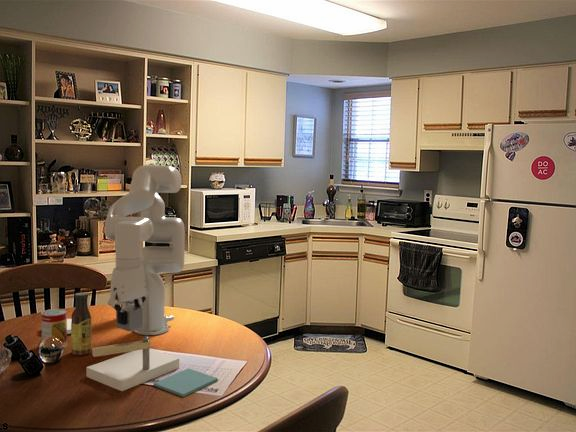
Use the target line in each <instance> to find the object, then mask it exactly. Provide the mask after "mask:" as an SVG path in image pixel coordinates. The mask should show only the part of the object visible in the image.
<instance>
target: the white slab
mask: <svg viewBox="0 0 576 432" xmlns="http://www.w3.org/2000/svg"><path fill="white" fill-rule="evenodd" d="M179 368H180V358H179V357H176V356H173V355H170V354H167V353H164V352H161V351H158V350H155V349H151V347H150V348H149V349H142V350H136V351H129V352H125V353H123V354H121V355H118V356H114V357H112V358H109V359H106V360H104V361H101V362H98V363H95V364H91V365H88V366H86V377H87V378H89V379H91V380H93V381H96V382H98V383H101V384H103V385H105V386H108V387H111V388H113V389H115V390H118V391H121V392H124V391H126V390H129V389H131V388H134V387H136V386H138V385H141V384H143V383H146V382H149V381H151V380H153V379H155V378H157V377H160V376H163V375H165V374H167V373H169V372H172V371H174V370H177V369H179Z"/></svg>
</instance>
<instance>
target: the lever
mask: <svg viewBox="0 0 576 432" xmlns="http://www.w3.org/2000/svg"><path fill="white" fill-rule="evenodd" d="M149 348H150V349H151V341H150V335H143V337H142V340H136V341H130V342H123V343H117V344H116V343H115V344H109V345H103V346H101V345H100V346H96V347H95V346H94V347H91V353H92V354H91V355H92V356H93V358H97V357H103V356H107V355H108V356H109V355H116V354H121V353H123V354H124V353H129V352H132V351H136V350H142V349H149Z"/></svg>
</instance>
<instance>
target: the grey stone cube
mask: <svg viewBox="0 0 576 432" xmlns="http://www.w3.org/2000/svg"><path fill="white" fill-rule="evenodd" d="M124 312H126V325H122V324H119V323H118V321H117V311H116V310H115V314H116V315H115V319H116V321H115V323H116V325H115V326H116V328H118V329H120V330H124V331H126V332H132V331H133V332H134V330H136V329H139V328H142V327H143V308H141V307H137V306H134V305H131V304H128V305H125V310H124Z"/></svg>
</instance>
